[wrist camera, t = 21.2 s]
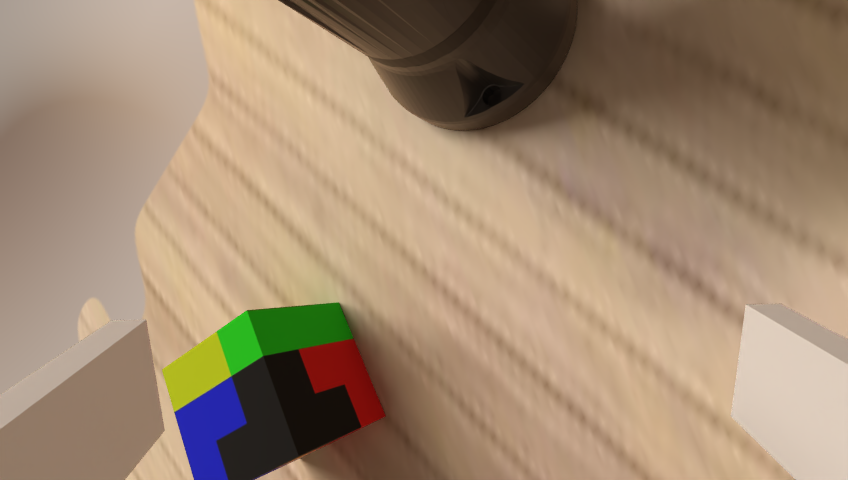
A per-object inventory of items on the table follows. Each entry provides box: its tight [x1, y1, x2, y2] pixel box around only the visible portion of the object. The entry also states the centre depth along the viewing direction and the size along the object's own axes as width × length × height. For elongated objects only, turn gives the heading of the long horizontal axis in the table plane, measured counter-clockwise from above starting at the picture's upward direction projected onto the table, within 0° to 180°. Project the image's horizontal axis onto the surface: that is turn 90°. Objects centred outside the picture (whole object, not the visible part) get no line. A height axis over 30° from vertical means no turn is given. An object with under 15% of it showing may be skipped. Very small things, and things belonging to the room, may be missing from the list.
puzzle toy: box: [162, 303, 385, 480], centre depth 39 cm, size 10×10×10 cm
